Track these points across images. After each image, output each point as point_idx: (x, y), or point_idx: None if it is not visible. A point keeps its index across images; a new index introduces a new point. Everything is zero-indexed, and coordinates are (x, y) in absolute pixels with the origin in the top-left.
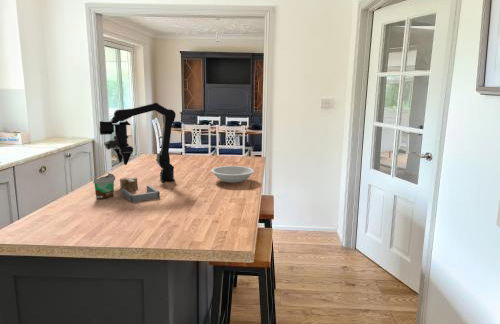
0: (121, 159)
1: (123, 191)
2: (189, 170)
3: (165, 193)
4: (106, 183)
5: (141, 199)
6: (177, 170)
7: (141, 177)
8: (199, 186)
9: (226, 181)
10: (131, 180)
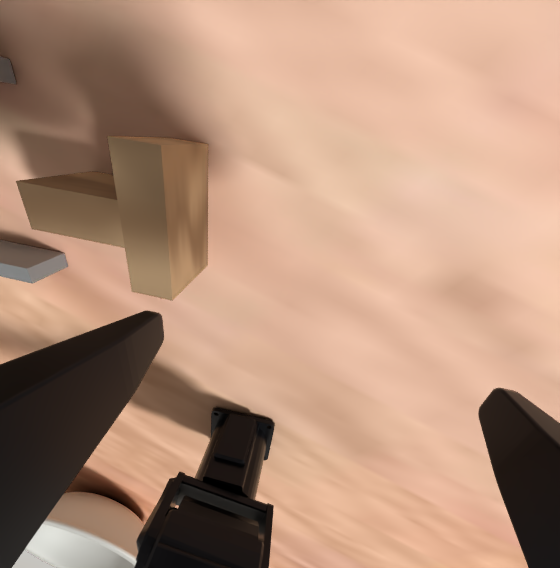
0: (502, 467)
1: None
2: (349, 551)
3: (3, 298)
4: None
5: None
6: (391, 541)
7: (412, 402)
8: None
9: (69, 492)
10: (63, 214)
